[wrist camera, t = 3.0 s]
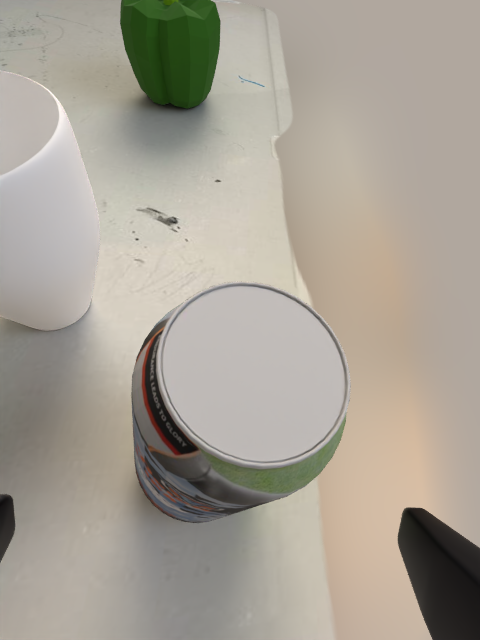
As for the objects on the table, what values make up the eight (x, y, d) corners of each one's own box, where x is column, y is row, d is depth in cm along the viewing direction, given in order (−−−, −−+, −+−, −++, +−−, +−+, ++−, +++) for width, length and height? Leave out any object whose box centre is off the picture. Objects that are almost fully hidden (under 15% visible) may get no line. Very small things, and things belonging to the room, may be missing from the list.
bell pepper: (177, 131, 33) (166, -12, 25) (116, 94, 35) (87, -48, 27) (238, 97, 37) (246, -38, 28) (179, 65, 39) (170, -68, 31)
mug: (116, 360, 21) (39, 204, 11) (-38, 364, 20) (-260, 199, 11) (135, 213, 27) (95, 31, 18) (17, 211, 27) (-92, 20, 17)
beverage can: (137, 408, 20) (64, 263, 10) (269, 389, 21) (329, 241, 11) (142, 542, 17) (41, 537, 7) (298, 511, 18) (418, 466, 8)
